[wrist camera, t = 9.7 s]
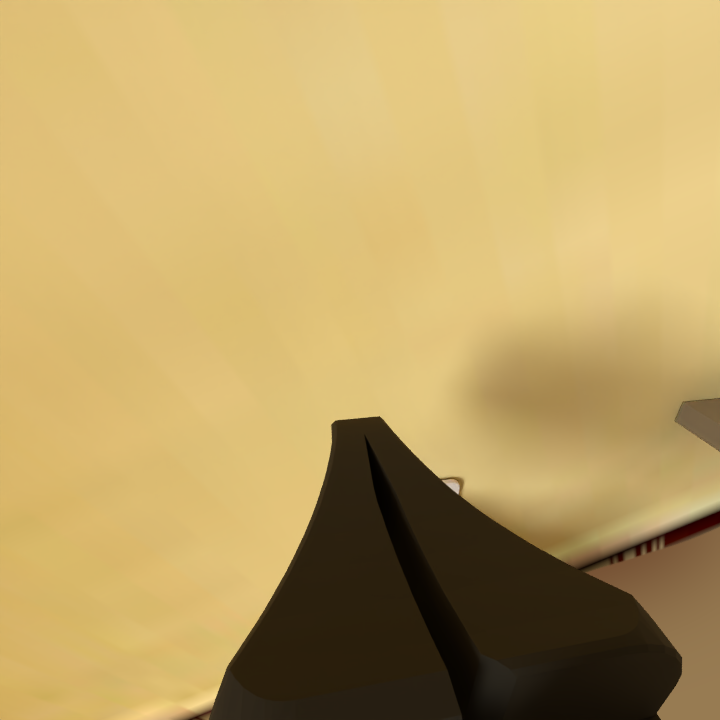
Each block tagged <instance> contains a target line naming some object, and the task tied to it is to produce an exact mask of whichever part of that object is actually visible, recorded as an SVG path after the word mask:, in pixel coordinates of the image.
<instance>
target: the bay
mask: <svg viewBox="0 0 720 720" xmlns="http://www.w3.org/2000/svg"><path fill="white" fill-rule="evenodd" d="M675 422H677V423H678V424H680V425H681V426H683V427H684V428H686V429H687V430H689V431H690V432H692V433H693V434H695V435H696V436H698V437H699V438H700V439H702V440H703V441H705V442H706V443H708V444H709V445H711V446H712V447H714V448H715V449H717V450H718V451H720V398H718V399H709V400H699V401H689V402H683V403H682V406H681V408H680V410H679V413H678V415H677V417H676V419H675Z"/></svg>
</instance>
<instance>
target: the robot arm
mask: <svg viewBox="0 0 720 720" xmlns="http://www.w3.org/2000/svg"><path fill="white" fill-rule="evenodd" d="M331 426H332V446H331V453H330V458H329V462H328V467H327V471H326V475H325V479H324V482H323V485H322V488H321V492H320V495H319V498H318V501H317V504H316V507H315V509H314V512H313V515H312V517H311V520H310V522H309V525H308V527H307V529H306V532H305V534H304V536H303V538H302V540H301V543H300V545H299V547H298V549H297V551H296V553H295V555H294V557H293V559H292V561H291V563H290V565H289V567H288V569H287V571H286V573H285V575H284V577H283V578H282V580H281V582H280V584H279V585H278V587H277V589H276V591H275V592H274V594H273V596H272V598H271V599H270V601H269V603H268V605H267V606H266V608H265V610H264V611H263V613H262V615H261V616H260V618H259V620H258V621H257V623H256V624H255V626H254V627H253V629H252V630H251V632H250V633H249V635H248V636H247V638H246V639H245V641H244V642H243V644H242V645H241V647H240V648H239V650H238V651H237V653H236V654H235V656H234V657H233V659H232V660H231V662H230V663H229V665H228V667H227V669H226V672H225V675H224V677H223V680H222V683H221V686H220V688H219V691H218V694H217V697H216V699H215V702H214V705H213V709H212V712H211V715H210V718H209V720H661V719H660V718H659V716H658V715H657V711H658V710H659V709H660V707H661V706H662V704H663V703H664V702H665V700H666V699H667V697H668V696H669V694H670V693H671V692H672V690H673V689H674V687H675V686H676V684H677V682H678V680H679V678H680V676H681V674H682V657H681V656H680V654H679V653H678V652H677V650H676V649H675V648H674V646H673V645H672V644H671V642H670V641H669V640H668V639H667V637H666V636H665V635H664V633H663V632H662V631H661V629H660V628H659V627H658V626H657V624H656V623H655V622H654V620H653V619H652V618H651V617H650V616H649V614H648V613H647V612H646V611H645V610H644V609H643V607H642V606H641V605H640V604H639V603H638V602H637V600H635V598H634V597H633V596H632V595H631V594H629V593H627V592H624V591H622V590H620V589H618V588H616V587H614V586H612V585H610V584H608V583H605V582H603V581H601V580H599V579H597V578H595V577H593V576H590V575H589V574H586V573H584V572H582V571H580V570H578V569H576V568H574V567H572V566H570V565H568V564H566V563H564V562H563V561H561V560H559V559H557V558H555V557H553V556H552V555H550V554H548V553H546V552H544V551H542V550H540V549H539V548H537V547H535V546H534V545H532V544H530V543H528V542H527V541H525V540H523V539H522V538H520V537H518V536H517V535H515V534H514V533H512V532H511V531H509V530H507V529H506V528H504V527H503V526H501V525H500V524H498V523H496V522H495V521H493V520H492V519H491V518H489V517H488V516H486V515H485V514H483V513H482V512H480V511H479V510H478V509H476V508H475V507H474V506H472V505H471V504H470V503H468V502H467V501H466V500H464V499H463V498H462V497H461V496H459V490H460V485H459V483H458V481H457V480H455V479H449V480H441V479H440V478H438V477H437V476H436V475H435V474H434V473H433V472H432V471H431V470H430V469H429V468H428V467H427V466H426V465H425V464H424V463H422V462H421V461H420V460H419V459H418V458H417V457H416V456H415V455H414V454H413V453H412V452H411V450H410V449H409V448H408V447H407V446H406V445H405V444H404V443H403V442H402V441H401V440H400V439H399V438H398V436H397V435H396V434H395V433H394V432H393V431H392V430H391V428H390V427H389V426H388V425H387V424H386V423H385V421H384V420H383V419H382V418H381V417H368V418H358V419H348V420H337V421H335V422H334V423H333V424H332V425H331Z"/></svg>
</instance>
